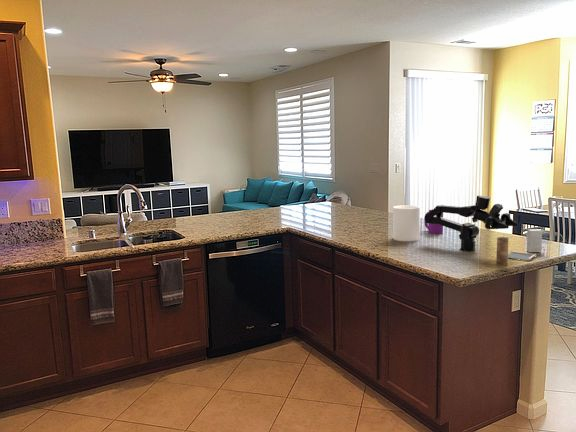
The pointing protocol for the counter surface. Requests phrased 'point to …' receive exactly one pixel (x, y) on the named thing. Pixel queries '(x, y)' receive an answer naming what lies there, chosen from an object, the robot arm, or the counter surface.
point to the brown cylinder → (502, 251)
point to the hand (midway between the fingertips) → (513, 226)
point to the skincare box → (534, 240)
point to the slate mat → (521, 255)
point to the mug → (434, 227)
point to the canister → (406, 223)
